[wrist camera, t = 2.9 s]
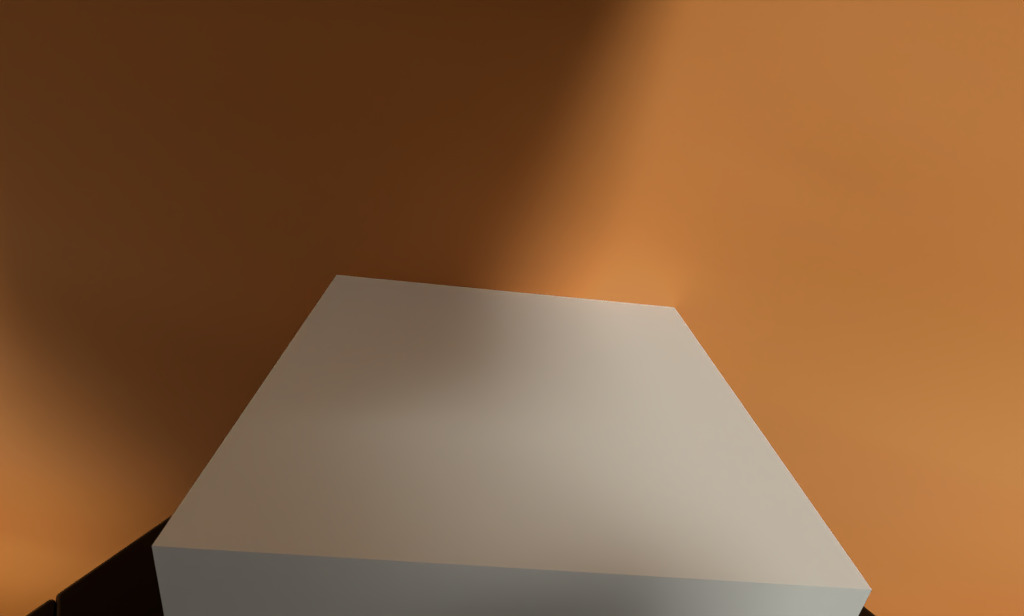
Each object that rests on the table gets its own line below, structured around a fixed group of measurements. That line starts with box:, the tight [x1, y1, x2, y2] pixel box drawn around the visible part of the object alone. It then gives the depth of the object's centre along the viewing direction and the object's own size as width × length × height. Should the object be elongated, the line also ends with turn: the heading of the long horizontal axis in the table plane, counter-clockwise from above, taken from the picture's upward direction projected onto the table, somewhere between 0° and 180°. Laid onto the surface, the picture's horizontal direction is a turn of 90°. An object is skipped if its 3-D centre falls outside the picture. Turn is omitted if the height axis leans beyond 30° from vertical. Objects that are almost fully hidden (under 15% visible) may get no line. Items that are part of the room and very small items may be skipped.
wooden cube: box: [152, 275, 872, 616], centre depth 7 cm, size 5×5×5 cm
